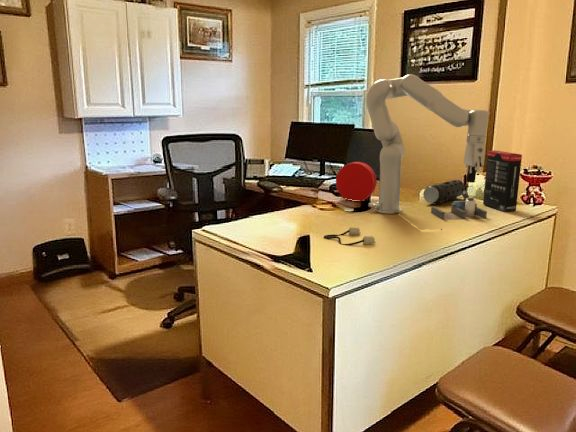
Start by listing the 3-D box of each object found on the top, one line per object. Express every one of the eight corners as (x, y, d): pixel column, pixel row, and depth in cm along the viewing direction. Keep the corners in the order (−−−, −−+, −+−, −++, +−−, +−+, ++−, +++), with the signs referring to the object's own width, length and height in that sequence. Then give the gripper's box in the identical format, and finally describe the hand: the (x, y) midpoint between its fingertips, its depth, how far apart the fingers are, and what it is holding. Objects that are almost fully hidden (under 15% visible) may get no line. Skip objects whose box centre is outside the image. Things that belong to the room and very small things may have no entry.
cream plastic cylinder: (466, 216, 208) (468, 199, 206) (462, 214, 212) (464, 197, 210) (475, 216, 209) (477, 198, 207) (471, 214, 212) (473, 197, 211)
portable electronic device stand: (476, 212, 222) (478, 194, 221) (459, 210, 225) (460, 193, 223) (476, 208, 231) (477, 191, 229) (458, 207, 233) (460, 190, 231)
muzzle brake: (464, 199, 252) (466, 180, 249) (438, 207, 232) (440, 186, 230) (447, 197, 258) (449, 178, 256) (421, 204, 239) (422, 184, 237)
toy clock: (375, 201, 246) (377, 162, 241) (372, 203, 241) (374, 164, 236) (338, 198, 254) (339, 160, 249) (335, 200, 249) (336, 162, 244)
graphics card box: (517, 211, 223) (523, 153, 216) (504, 212, 221) (510, 153, 215) (493, 204, 239) (499, 149, 233) (481, 205, 237) (486, 150, 231)
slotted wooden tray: (442, 221, 204) (443, 208, 202) (429, 214, 217) (430, 201, 216) (487, 221, 205) (488, 207, 204) (472, 213, 219) (473, 200, 218)
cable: (337, 249, 167) (337, 240, 166) (321, 237, 182) (321, 228, 182) (377, 245, 172) (377, 236, 171) (358, 234, 187) (358, 225, 186)
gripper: (493, 141, 196) (486, 185, 200) (476, 138, 210) (470, 179, 215) (475, 141, 195) (469, 185, 200) (459, 137, 210) (454, 178, 214)
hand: (470, 181), depth 207 cm, fingers closed
